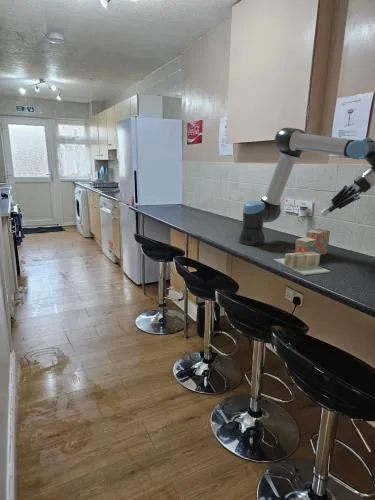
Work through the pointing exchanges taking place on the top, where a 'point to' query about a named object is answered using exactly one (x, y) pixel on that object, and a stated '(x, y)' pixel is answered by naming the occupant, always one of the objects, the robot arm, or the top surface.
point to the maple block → (302, 259)
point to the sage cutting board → (305, 268)
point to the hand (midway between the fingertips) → (322, 214)
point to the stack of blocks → (313, 242)
